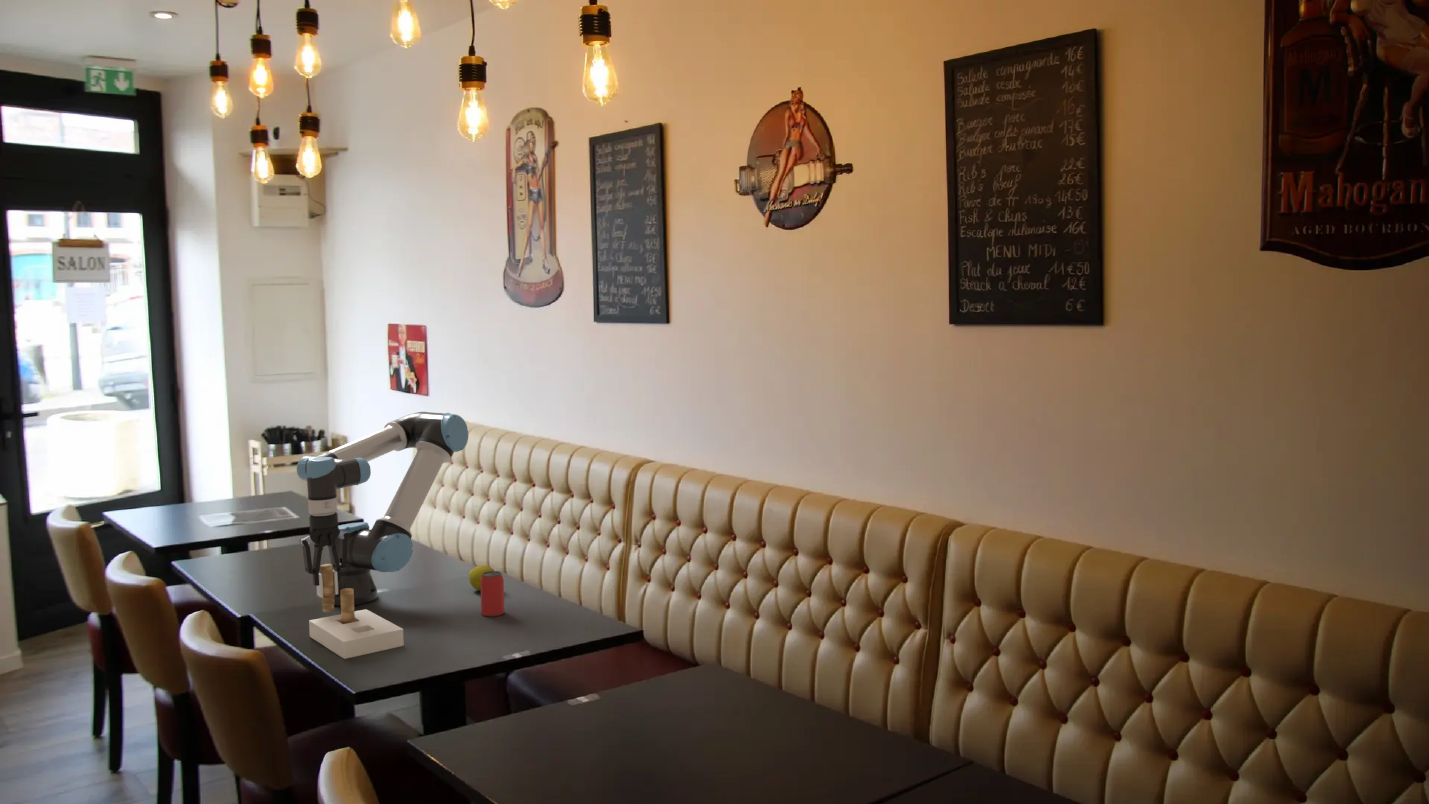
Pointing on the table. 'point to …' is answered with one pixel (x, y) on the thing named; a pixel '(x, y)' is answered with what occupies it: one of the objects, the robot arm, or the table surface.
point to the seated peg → (347, 605)
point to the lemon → (478, 575)
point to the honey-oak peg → (327, 587)
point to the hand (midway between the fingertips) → (327, 594)
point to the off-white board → (356, 634)
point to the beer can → (492, 594)
